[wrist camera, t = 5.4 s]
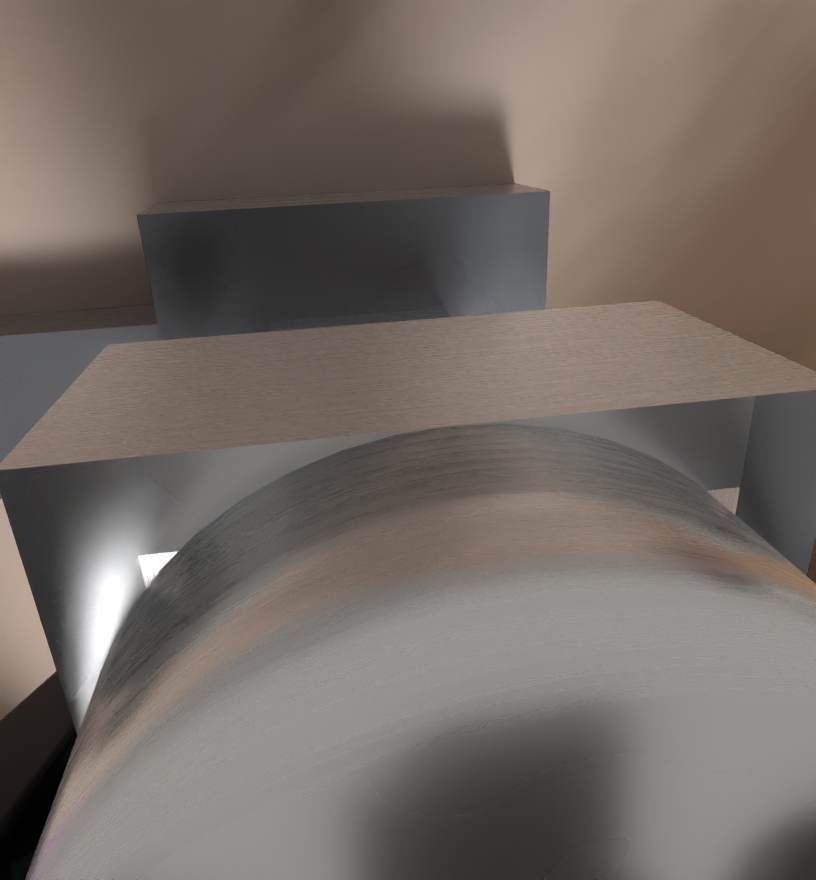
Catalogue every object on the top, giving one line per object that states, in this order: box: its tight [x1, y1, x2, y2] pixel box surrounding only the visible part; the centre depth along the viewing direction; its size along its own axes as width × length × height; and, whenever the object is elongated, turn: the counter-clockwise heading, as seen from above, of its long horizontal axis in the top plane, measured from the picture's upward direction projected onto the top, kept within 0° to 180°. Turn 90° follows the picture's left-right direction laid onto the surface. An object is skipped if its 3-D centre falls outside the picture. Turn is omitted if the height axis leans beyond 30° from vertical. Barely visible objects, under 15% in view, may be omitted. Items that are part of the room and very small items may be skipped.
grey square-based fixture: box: [0, 301, 816, 880], centre depth 7 cm, size 6×6×6 cm
